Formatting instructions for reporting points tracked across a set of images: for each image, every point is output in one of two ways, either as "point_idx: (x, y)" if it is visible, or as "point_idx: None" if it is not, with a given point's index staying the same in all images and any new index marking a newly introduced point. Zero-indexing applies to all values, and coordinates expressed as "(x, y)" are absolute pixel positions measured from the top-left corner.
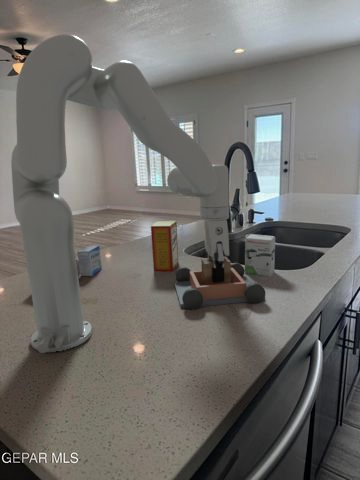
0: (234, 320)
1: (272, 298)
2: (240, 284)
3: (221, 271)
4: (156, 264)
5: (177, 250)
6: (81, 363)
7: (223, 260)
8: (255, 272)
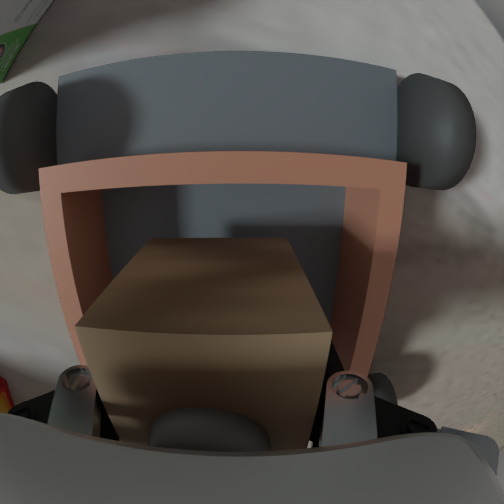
0: (483, 269)
1: (372, 33)
2: (400, 205)
3: (343, 368)
4: None
5: None
6: None
7: (491, 442)
8: (26, 30)
